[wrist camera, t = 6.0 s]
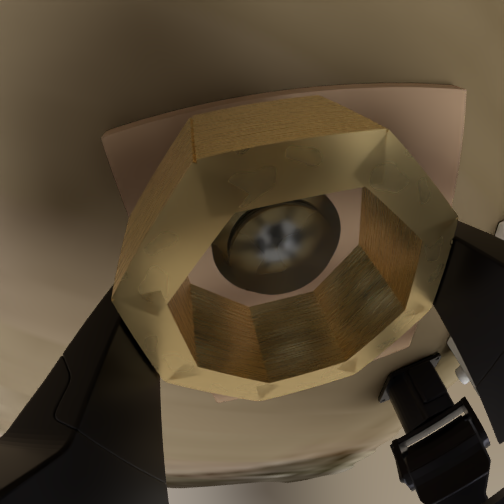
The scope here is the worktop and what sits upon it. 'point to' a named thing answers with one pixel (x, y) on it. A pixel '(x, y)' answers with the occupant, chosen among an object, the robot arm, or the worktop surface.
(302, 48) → the worktop surface
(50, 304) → the worktop surface
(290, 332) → the brass ring
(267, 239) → the steel post
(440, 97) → the copper plate
